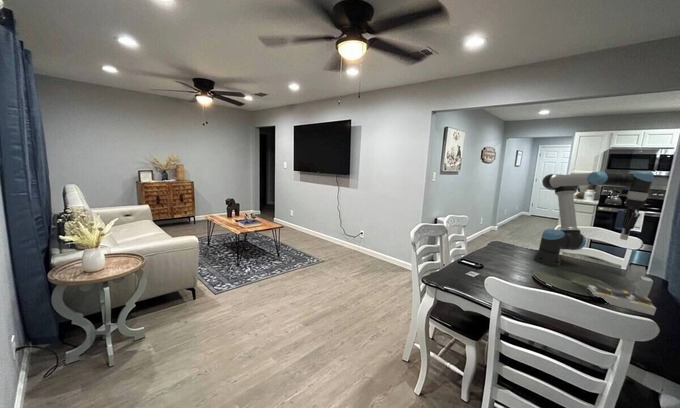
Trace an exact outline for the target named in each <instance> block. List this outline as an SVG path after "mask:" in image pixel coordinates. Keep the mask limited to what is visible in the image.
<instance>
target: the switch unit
mask: <svg viewBox="0 0 680 408" xmlns="http://www.w3.org/2000/svg"><path fill="white" fill-rule="evenodd" d="M587 289H589V290H590V291H591V292H592V294H593V295H594V296H597V297H601V298H603V299H604V300H605V301H606V302H607V303H609V304H608V305H612V306H616V307H619V308H623V309H626V308H627V310H630V309H631V311H635V312H637V313H638V312H639V313H643V314H646V315H651V316H655V313H656V310H657V307H655V305H654V304H653V303H651V304H649V303H646V302H644V301H642V300H639V299H637V298H635V297H634V296H633V295H632V294H630V297H627V296H618V295H614V294H613V293H611V295H610V294H608V293H606V292H604V291H601V290H599V289H597V288H596V287H595V285H591V284H588V286H587ZM607 303H606V304H607Z"/></svg>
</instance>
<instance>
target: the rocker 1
mask: <svg viewBox="0 0 680 408" xmlns="http://www.w3.org/2000/svg"><path fill="white" fill-rule="evenodd" d="M594 286H595V287H596V288H597V289H599V290H601V291H604V292H606V293H608V294H610V295H611V293H612V292H611V289H610V288H608V287H605V286H602V285H601V284H598V283H595V284H594Z"/></svg>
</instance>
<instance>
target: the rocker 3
mask: <svg viewBox="0 0 680 408" xmlns="http://www.w3.org/2000/svg"><path fill="white" fill-rule="evenodd" d="M631 295H633V296H634V297H635V298H637V299H639V300H642V301H644V302H646V303H649V304H653V301H652V300H651V299H650V298H649V297H644V296H641V295H639V294H636V293H634V292H632V293H631Z"/></svg>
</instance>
